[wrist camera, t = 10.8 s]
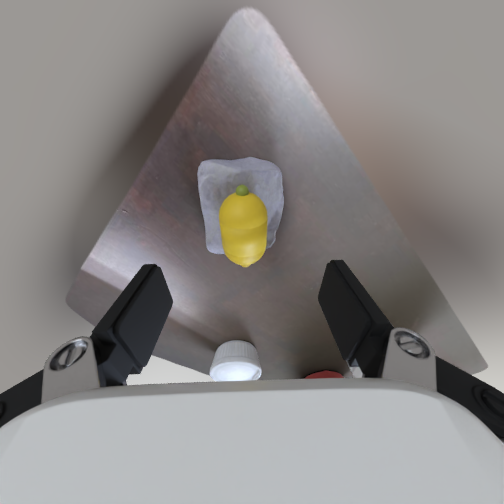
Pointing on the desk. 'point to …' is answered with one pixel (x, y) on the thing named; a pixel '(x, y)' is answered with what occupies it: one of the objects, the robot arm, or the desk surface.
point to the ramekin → (236, 362)
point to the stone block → (225, 183)
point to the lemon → (243, 226)
